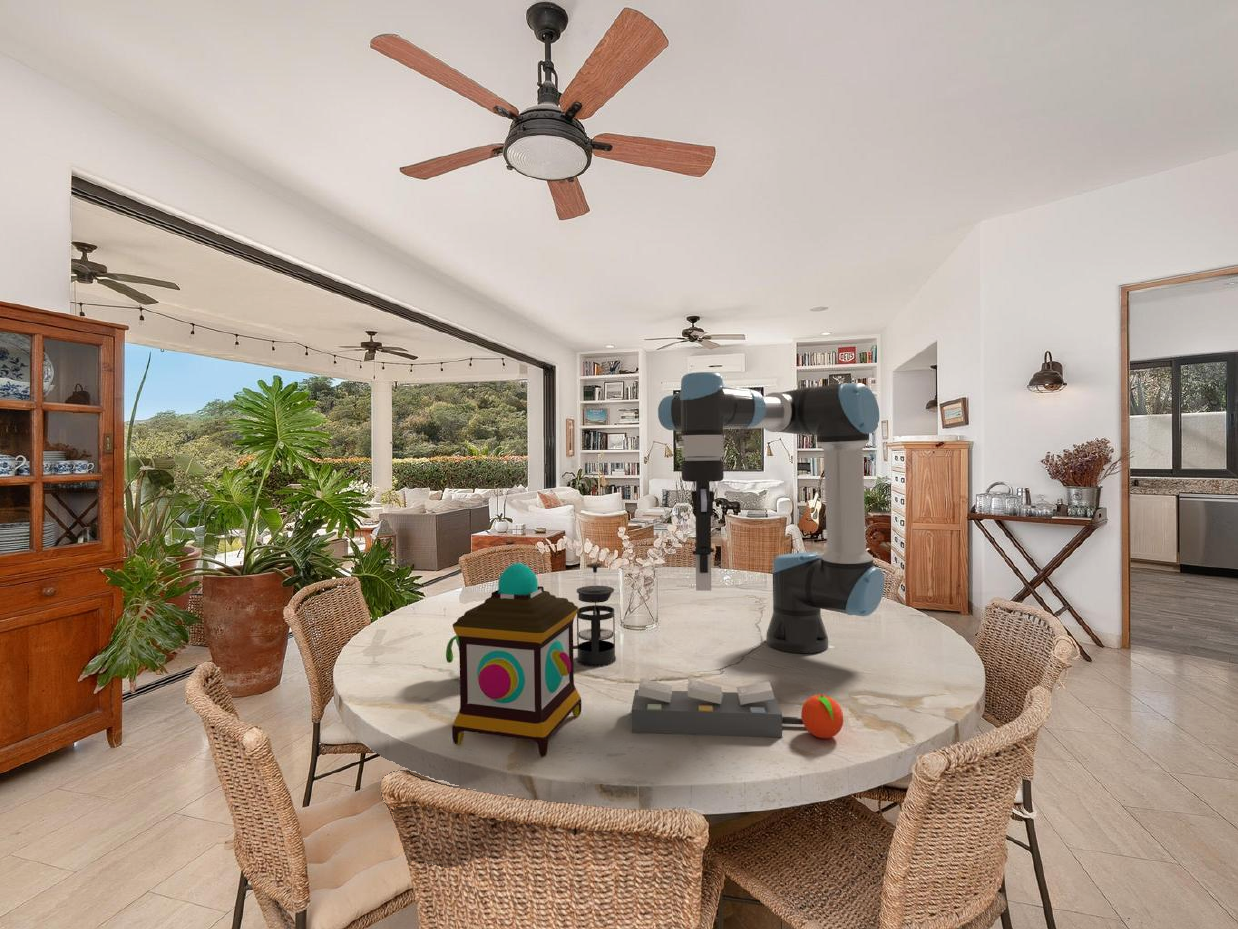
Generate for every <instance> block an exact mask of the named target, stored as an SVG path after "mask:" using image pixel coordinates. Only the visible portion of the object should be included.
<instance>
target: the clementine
mask: <svg viewBox="0 0 1238 929" xmlns="http://www.w3.org/2000/svg"><path fill="white" fill-rule="evenodd" d="M800 714H801V715H800V717H802V721H803V724H804V725H803V726H804V728H805V729H806V731H808V733H810V734H812V735H813V736H814V737H817V738H819V739H831V738H833V737H835V736H837V735H838V733H840V731H841V730H842V728H843V726H844V715H843V714H844V713H843V711H842V708H841V706H840V705H839V704H838V703H837V701H836V700H835V699H833V698H831V697H830V696H828V695H825V694H816V695H812V696H811V697H809V698H807V699H806V700H805V702H804V703H803V705H802V707H801V713H800Z"/></svg>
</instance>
